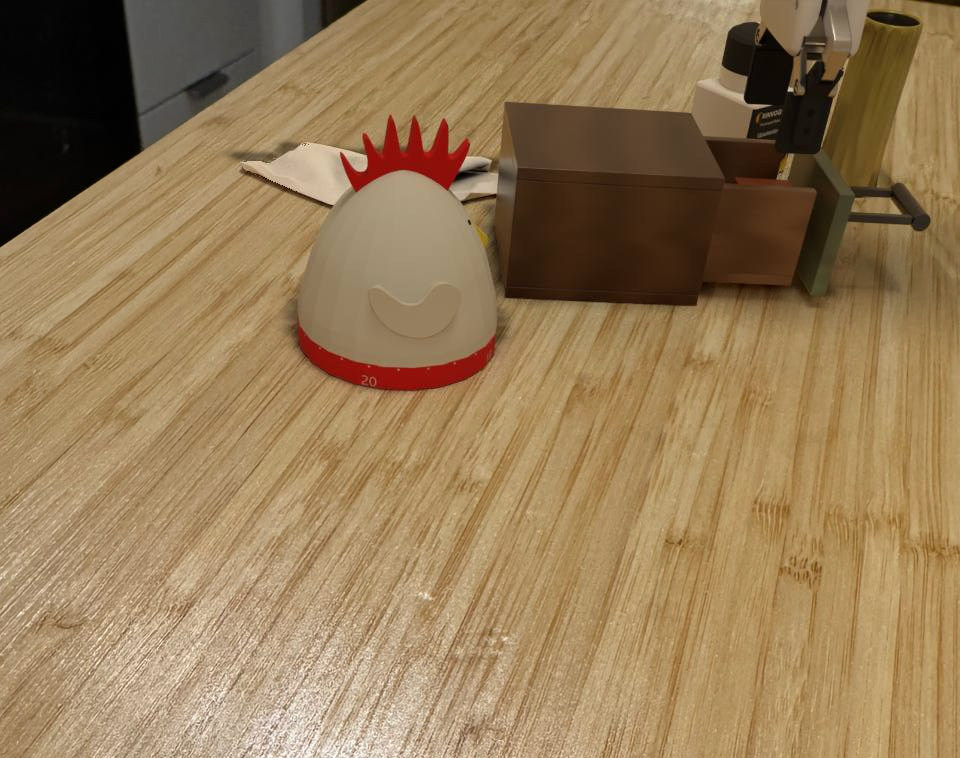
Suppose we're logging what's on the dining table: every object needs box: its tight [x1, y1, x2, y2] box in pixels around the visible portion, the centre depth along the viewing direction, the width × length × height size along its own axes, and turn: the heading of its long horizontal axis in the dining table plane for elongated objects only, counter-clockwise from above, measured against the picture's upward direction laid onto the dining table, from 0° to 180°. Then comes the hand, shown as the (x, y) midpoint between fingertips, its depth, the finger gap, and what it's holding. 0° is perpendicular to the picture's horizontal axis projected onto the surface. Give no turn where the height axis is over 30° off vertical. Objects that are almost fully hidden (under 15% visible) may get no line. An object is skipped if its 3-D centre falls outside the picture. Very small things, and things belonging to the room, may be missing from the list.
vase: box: [821, 8, 924, 187], centre depth 102 cm, size 6×6×14 cm
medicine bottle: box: [690, 21, 793, 173], centre depth 104 cm, size 7×7×12 cm
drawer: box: [702, 136, 932, 297], centre depth 89 cm, size 21×12×8 cm, turn 93°
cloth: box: [239, 141, 498, 206], centre depth 98 cm, size 26×14×2 cm, turn 80°
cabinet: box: [493, 101, 725, 307], centre depth 88 cm, size 15×13×10 cm
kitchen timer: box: [296, 114, 499, 391], centre depth 75 cm, size 14×14×15 cm
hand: (779, 126), depth 85 cm, fingers open, 9 cm apart
